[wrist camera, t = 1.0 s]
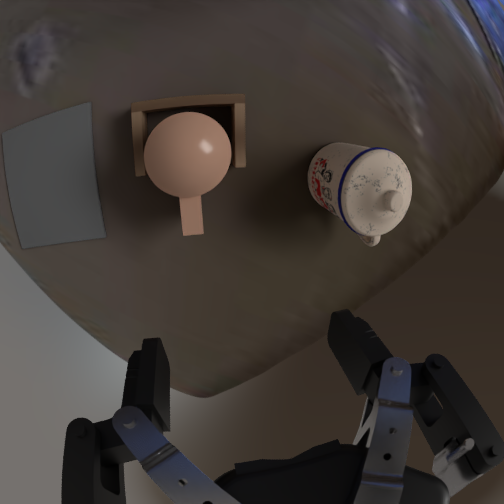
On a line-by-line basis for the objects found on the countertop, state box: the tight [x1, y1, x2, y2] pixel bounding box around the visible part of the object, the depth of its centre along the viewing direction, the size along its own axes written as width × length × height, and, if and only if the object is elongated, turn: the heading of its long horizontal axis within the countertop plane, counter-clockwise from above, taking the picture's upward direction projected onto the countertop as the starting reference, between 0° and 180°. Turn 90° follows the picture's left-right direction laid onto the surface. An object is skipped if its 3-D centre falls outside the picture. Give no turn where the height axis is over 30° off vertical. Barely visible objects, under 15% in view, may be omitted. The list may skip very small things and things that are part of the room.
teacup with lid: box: [308, 143, 412, 246], centre depth 27 cm, size 12×9×12 cm
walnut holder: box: [131, 94, 246, 177], centre depth 25 cm, size 8×11×3 cm
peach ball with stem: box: [144, 112, 231, 236], centre depth 24 cm, size 10×7×8 cm, turn 0°
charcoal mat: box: [2, 102, 107, 249], centre depth 24 cm, size 16×14×1 cm
